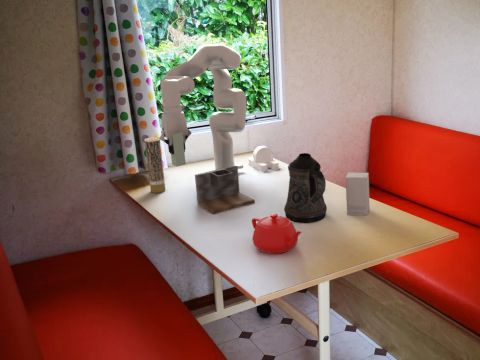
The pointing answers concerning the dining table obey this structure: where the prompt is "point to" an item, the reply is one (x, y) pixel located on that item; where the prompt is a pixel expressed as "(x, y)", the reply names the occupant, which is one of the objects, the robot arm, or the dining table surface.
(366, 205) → the skincare box
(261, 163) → the white slotted holder
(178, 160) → the rail post
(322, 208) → the beer stein
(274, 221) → the teapot
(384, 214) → the dining table surface
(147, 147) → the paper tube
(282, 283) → the dining table surface
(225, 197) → the bracket stand
